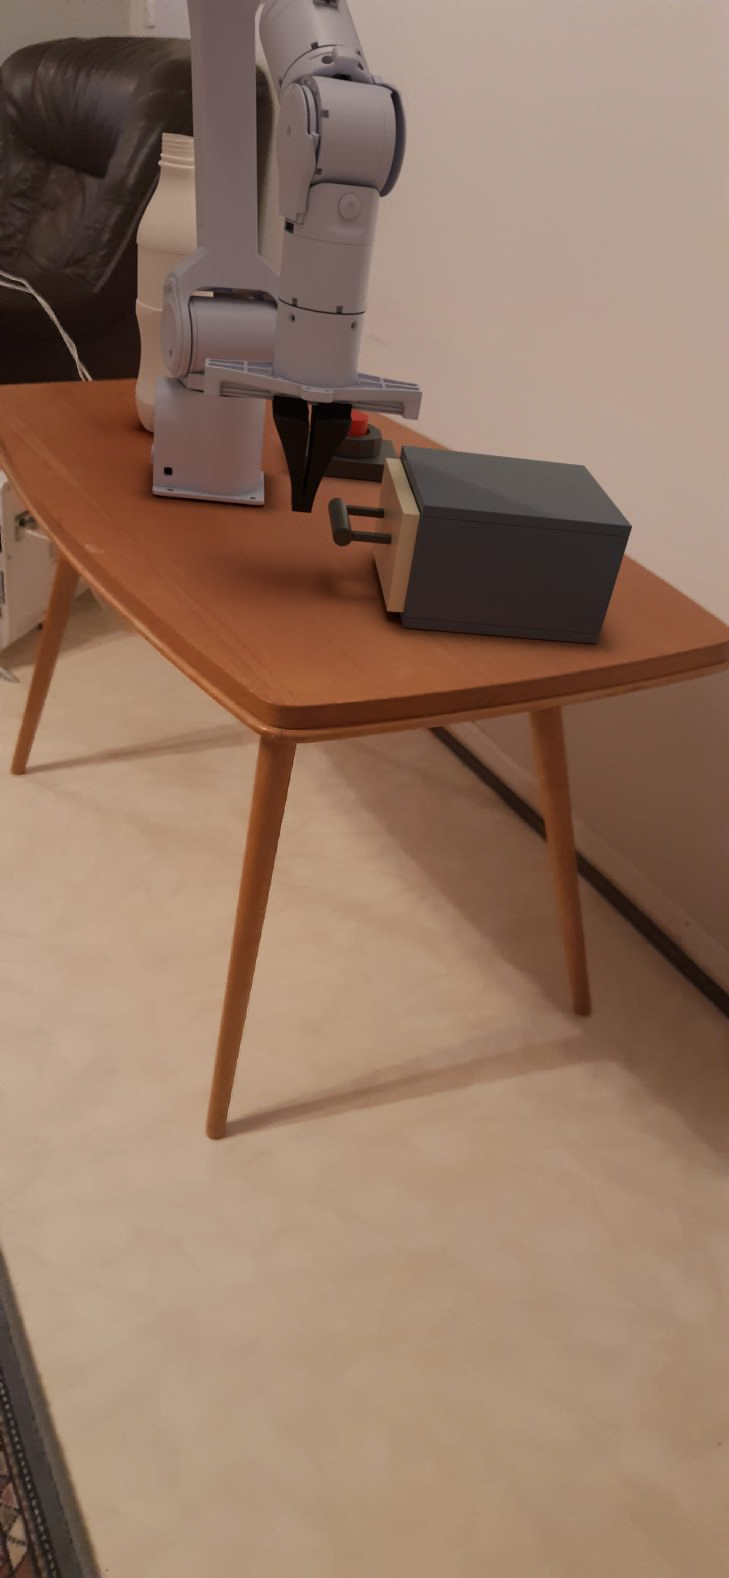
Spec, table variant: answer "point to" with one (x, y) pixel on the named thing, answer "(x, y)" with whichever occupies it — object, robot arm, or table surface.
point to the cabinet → (511, 546)
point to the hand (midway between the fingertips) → (300, 507)
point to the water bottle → (163, 259)
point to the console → (361, 456)
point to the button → (358, 423)
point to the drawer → (385, 531)
